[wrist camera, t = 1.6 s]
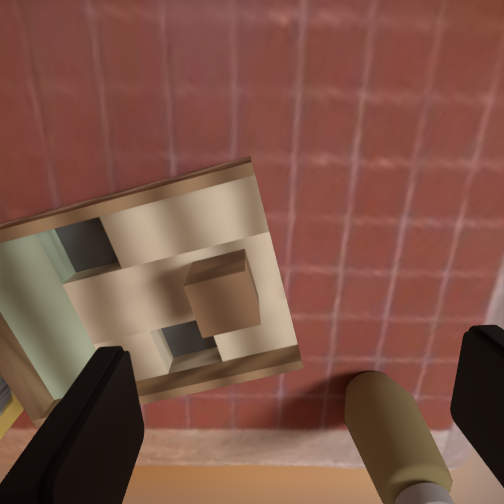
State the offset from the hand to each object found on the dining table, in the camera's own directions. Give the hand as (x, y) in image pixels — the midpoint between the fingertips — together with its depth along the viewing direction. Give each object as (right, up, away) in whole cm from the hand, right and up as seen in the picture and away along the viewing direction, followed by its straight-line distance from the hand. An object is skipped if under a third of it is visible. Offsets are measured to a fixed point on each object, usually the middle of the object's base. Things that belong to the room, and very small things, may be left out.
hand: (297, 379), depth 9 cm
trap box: (-12, 0, +25) cm, 28 cm away
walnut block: (-4, +1, +22) cm, 22 cm away
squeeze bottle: (+13, -13, +31) cm, 36 cm away
